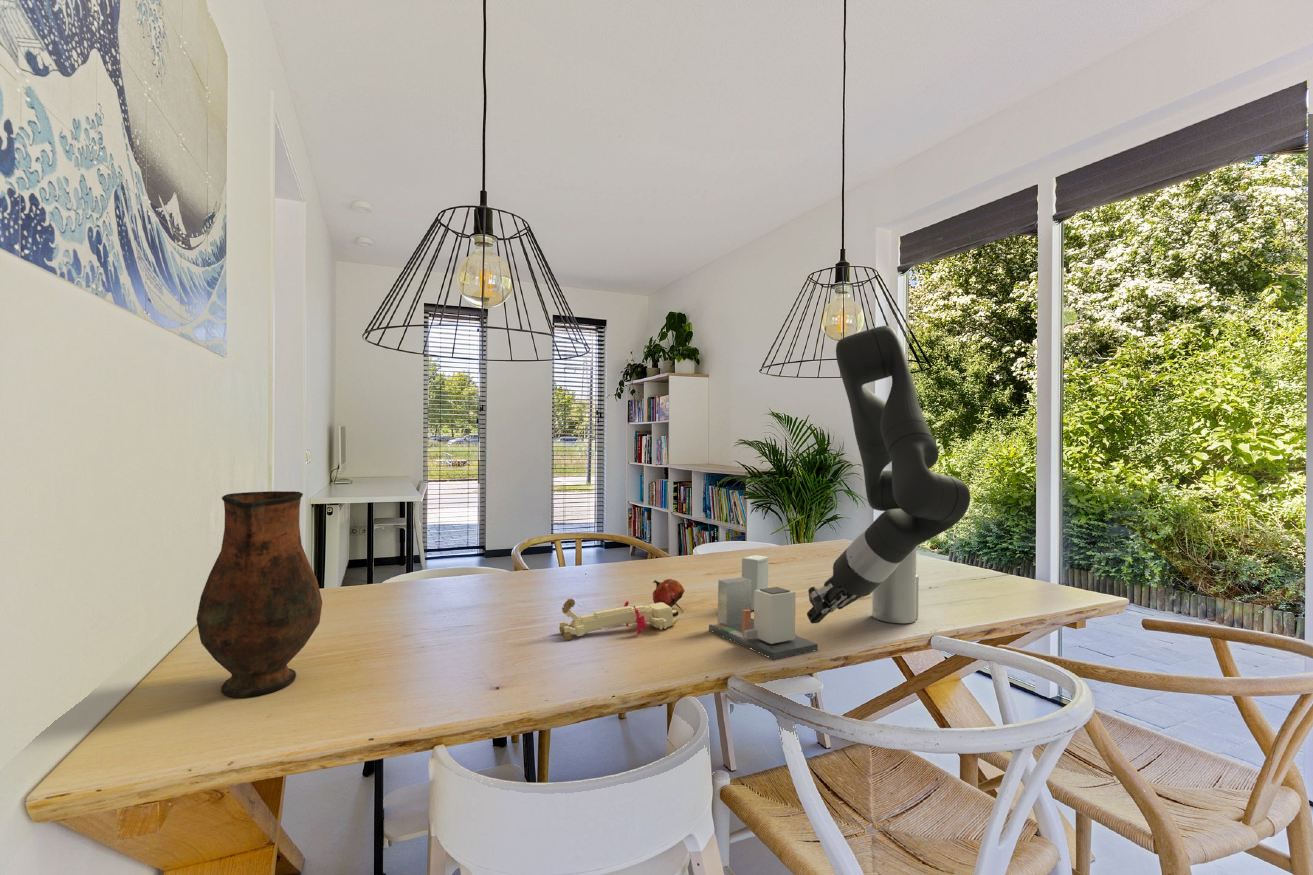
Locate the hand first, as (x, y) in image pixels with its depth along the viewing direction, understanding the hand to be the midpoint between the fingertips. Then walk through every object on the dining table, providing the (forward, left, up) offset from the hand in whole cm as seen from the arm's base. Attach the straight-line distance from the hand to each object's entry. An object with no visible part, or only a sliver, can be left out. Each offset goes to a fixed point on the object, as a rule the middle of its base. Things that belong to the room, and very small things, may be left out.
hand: (811, 618), depth 112 cm
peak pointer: (+4, -13, -6) cm, 15 cm away
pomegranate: (+4, -42, -8) cm, 43 cm away
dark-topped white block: (+1, -10, -6) cm, 12 cm away
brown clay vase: (+84, -36, -8) cm, 92 cm away
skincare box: (-15, -34, -8) cm, 38 cm away
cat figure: (+21, -32, -8) cm, 40 cm away
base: (0, -14, -8) cm, 16 cm away
